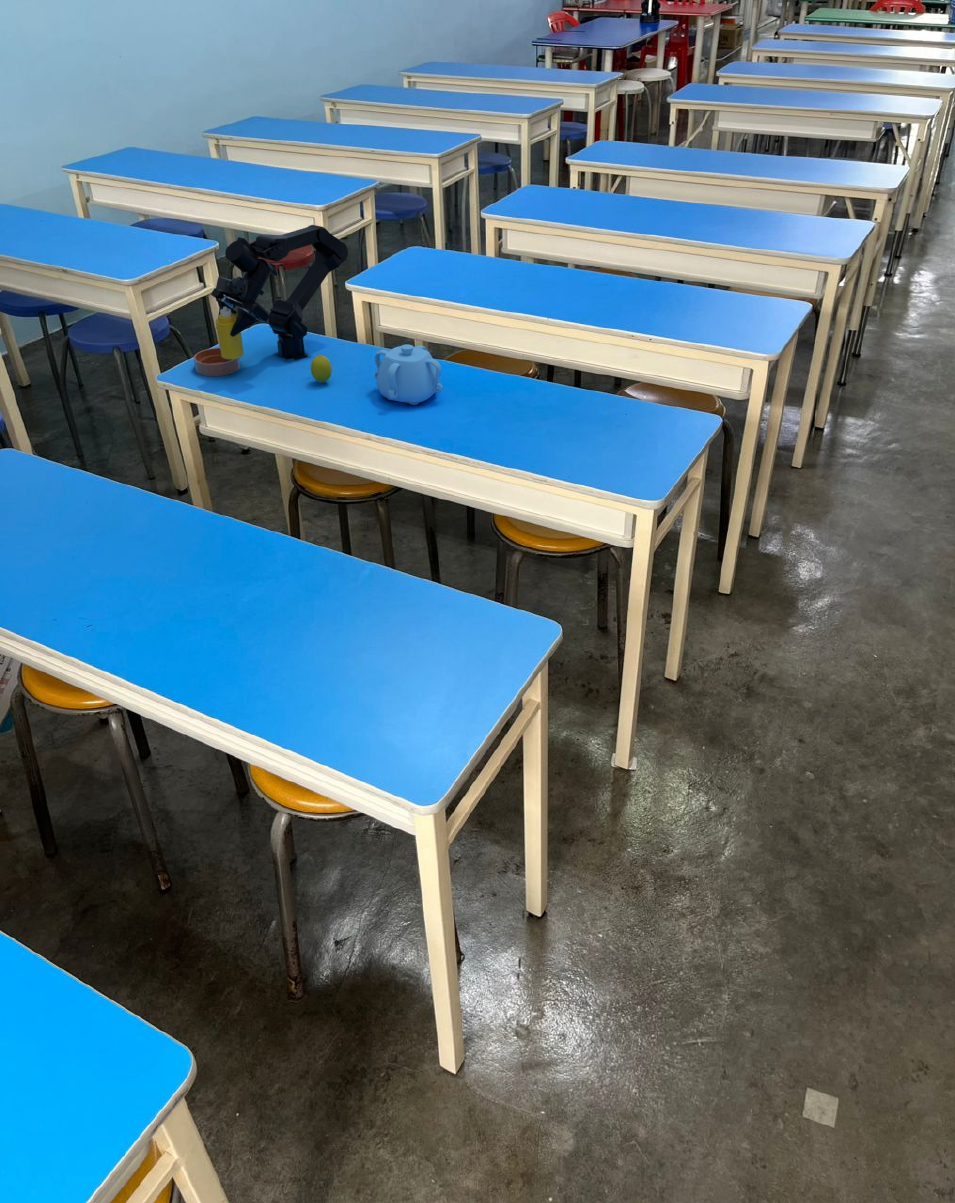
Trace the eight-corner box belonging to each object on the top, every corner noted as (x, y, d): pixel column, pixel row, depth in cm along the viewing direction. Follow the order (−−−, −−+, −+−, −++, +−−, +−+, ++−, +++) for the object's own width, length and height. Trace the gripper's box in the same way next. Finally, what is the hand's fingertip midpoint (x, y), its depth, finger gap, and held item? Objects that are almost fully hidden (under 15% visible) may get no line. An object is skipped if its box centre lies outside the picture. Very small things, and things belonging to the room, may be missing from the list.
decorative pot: (433, 381, 256) (432, 332, 248) (445, 405, 243) (444, 355, 235) (374, 386, 253) (371, 337, 245) (383, 411, 240) (380, 360, 232)
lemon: (329, 388, 251) (326, 359, 247) (309, 386, 252) (306, 358, 248) (335, 380, 256) (333, 351, 251) (316, 378, 257) (313, 350, 252)
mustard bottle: (238, 348, 256) (231, 301, 248) (247, 356, 252) (240, 308, 244) (218, 353, 254) (209, 306, 246) (226, 361, 250) (218, 312, 242)
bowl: (229, 358, 268) (227, 344, 265) (247, 372, 260) (245, 358, 257) (189, 367, 262) (187, 353, 260) (206, 382, 254) (203, 368, 252)
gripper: (211, 256, 246) (182, 308, 247) (253, 272, 236) (222, 326, 236) (240, 279, 256) (212, 329, 256) (282, 295, 245) (253, 347, 246)
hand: (224, 332), depth 248 cm, fingers closed on mustard bottle, 6 cm apart
